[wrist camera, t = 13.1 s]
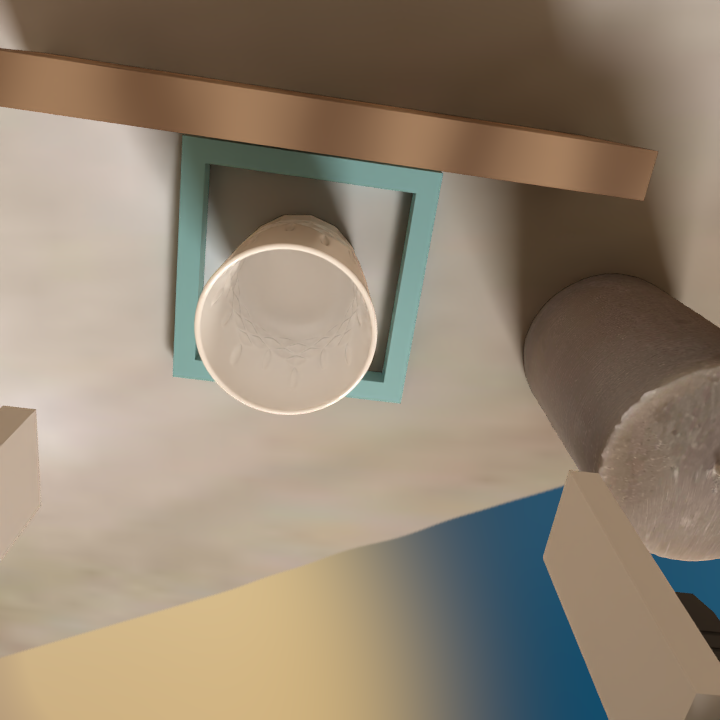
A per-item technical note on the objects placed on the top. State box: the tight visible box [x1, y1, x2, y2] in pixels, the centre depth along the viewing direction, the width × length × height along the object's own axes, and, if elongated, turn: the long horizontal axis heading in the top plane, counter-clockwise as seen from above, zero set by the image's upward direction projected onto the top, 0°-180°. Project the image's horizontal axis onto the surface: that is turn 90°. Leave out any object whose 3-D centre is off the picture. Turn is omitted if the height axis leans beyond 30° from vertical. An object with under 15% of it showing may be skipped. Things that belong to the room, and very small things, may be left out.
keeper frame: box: [173, 134, 443, 403], centre depth 37 cm, size 13×13×2 cm
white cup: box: [194, 215, 377, 415], centre depth 33 cm, size 8×8×10 cm
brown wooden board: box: [0, 48, 658, 201], centre depth 31 cm, size 28×2×9 cm, turn 82°
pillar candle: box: [524, 274, 720, 561], centre depth 33 cm, size 10×10×15 cm
